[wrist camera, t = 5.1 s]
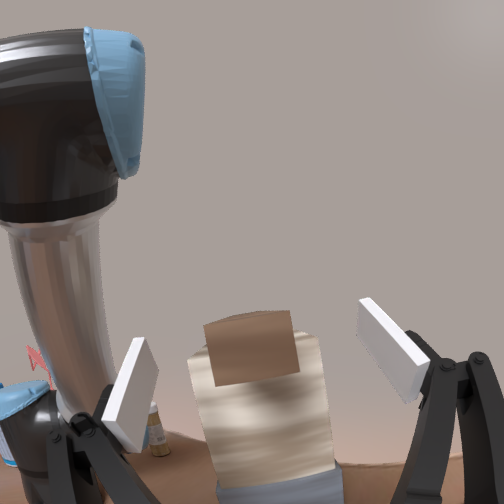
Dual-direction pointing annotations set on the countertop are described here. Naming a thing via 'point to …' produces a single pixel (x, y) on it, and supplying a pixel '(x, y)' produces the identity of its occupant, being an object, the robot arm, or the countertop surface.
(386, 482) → the countertop surface
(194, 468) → the countertop surface
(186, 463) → the countertop surface
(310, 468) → the tower
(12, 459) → the beverage bottle
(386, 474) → the countertop surface
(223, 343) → the walnut bar
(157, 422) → the sprinkles bottle
